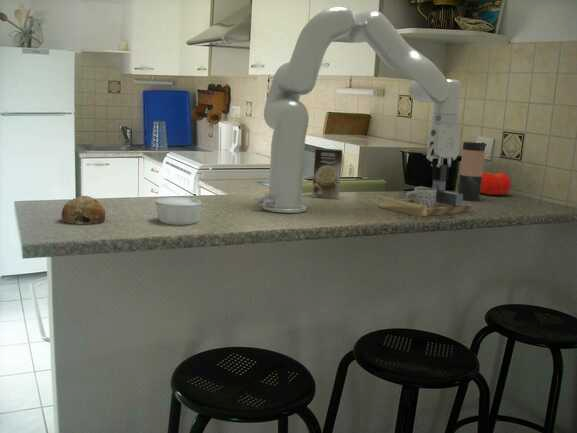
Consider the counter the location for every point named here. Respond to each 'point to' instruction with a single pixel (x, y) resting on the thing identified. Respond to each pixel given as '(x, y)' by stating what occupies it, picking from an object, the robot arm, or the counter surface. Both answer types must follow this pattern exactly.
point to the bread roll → (83, 211)
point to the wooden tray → (420, 207)
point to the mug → (423, 196)
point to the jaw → (444, 195)
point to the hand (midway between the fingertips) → (439, 178)
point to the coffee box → (327, 173)
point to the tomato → (495, 184)
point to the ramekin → (178, 210)
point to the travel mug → (471, 170)
